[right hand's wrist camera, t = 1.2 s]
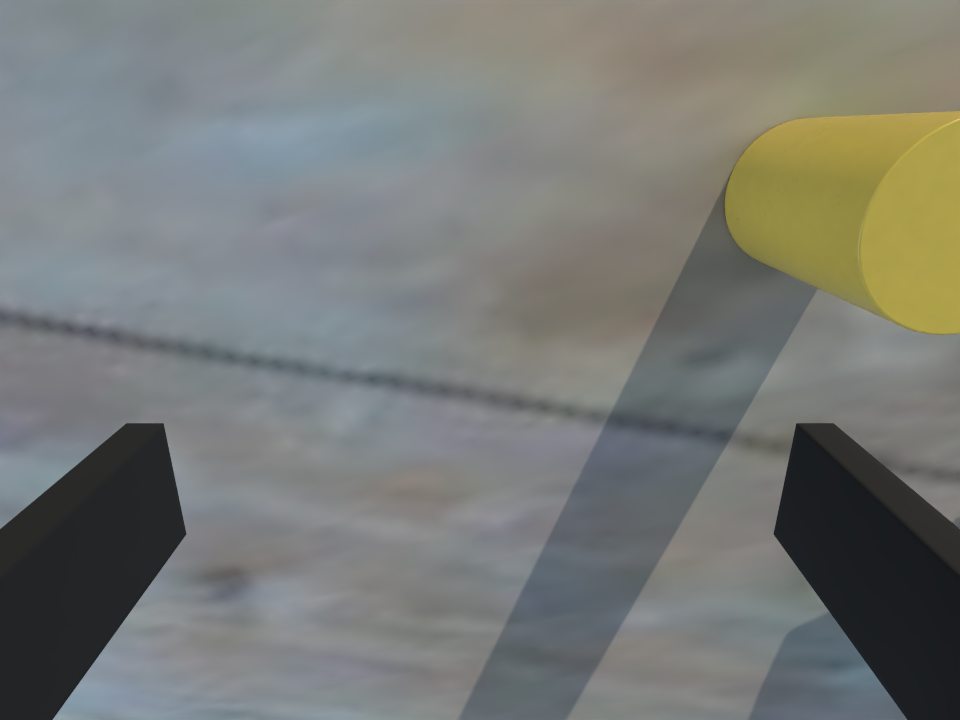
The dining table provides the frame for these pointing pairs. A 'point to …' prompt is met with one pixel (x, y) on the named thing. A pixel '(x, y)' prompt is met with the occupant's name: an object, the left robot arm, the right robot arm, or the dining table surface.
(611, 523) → the dining table surface
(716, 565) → the dining table surface
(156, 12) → the dining table surface
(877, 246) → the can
